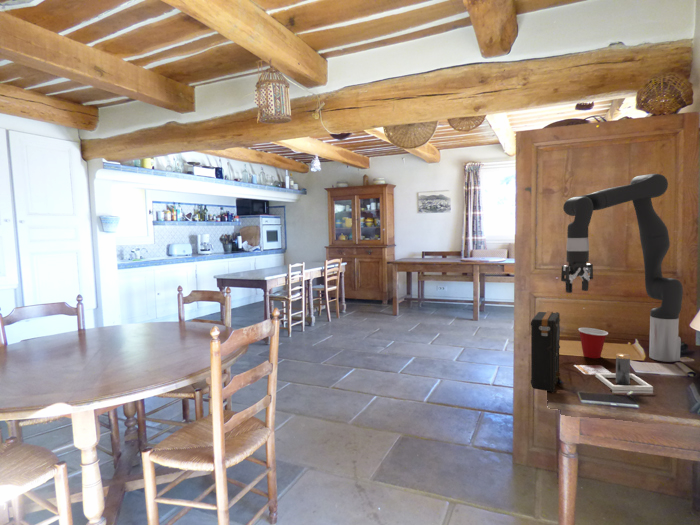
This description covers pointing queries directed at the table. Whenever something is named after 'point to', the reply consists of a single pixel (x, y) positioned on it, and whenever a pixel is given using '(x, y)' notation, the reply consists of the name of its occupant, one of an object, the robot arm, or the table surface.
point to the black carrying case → (545, 350)
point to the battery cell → (623, 369)
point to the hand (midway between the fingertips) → (577, 291)
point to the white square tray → (625, 387)
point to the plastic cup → (592, 341)
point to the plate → (591, 369)
